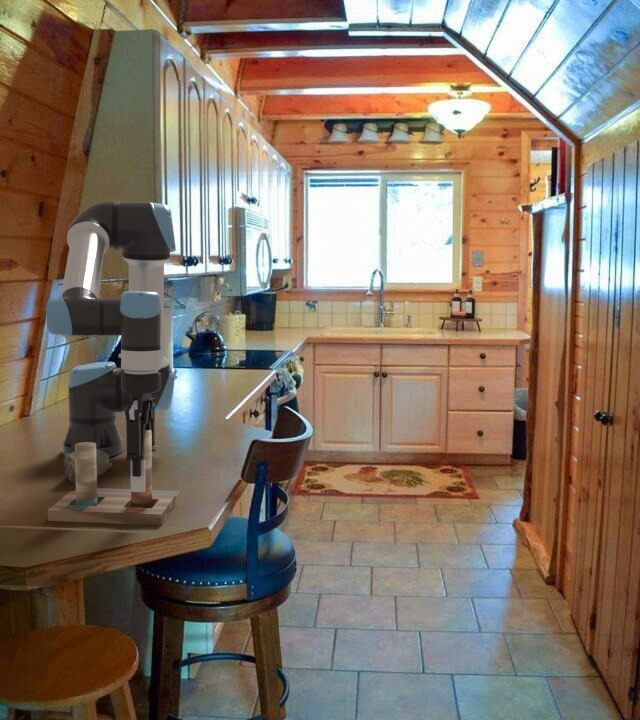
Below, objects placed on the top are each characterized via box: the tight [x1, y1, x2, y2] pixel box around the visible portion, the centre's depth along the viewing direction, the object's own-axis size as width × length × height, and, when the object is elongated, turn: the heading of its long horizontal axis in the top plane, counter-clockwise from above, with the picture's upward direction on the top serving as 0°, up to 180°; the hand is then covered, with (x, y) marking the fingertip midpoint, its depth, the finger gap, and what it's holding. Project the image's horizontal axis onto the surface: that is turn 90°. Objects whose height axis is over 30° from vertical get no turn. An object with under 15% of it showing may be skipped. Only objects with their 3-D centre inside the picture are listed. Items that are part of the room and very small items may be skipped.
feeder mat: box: [97, 487, 182, 498], centre depth 159 cm, size 8×20×1 cm, turn 88°
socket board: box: [47, 490, 177, 526], centre depth 148 cm, size 12×22×3 cm, turn 88°
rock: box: [63, 449, 112, 484], centre depth 172 cm, size 17×7×10 cm
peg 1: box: [75, 442, 98, 506], centre depth 147 cm, size 4×4×14 cm
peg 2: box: [131, 429, 153, 504], centre depth 147 cm, size 4×4×14 cm
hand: (141, 487), depth 147 cm, fingers closed on peg 2, 4 cm apart
